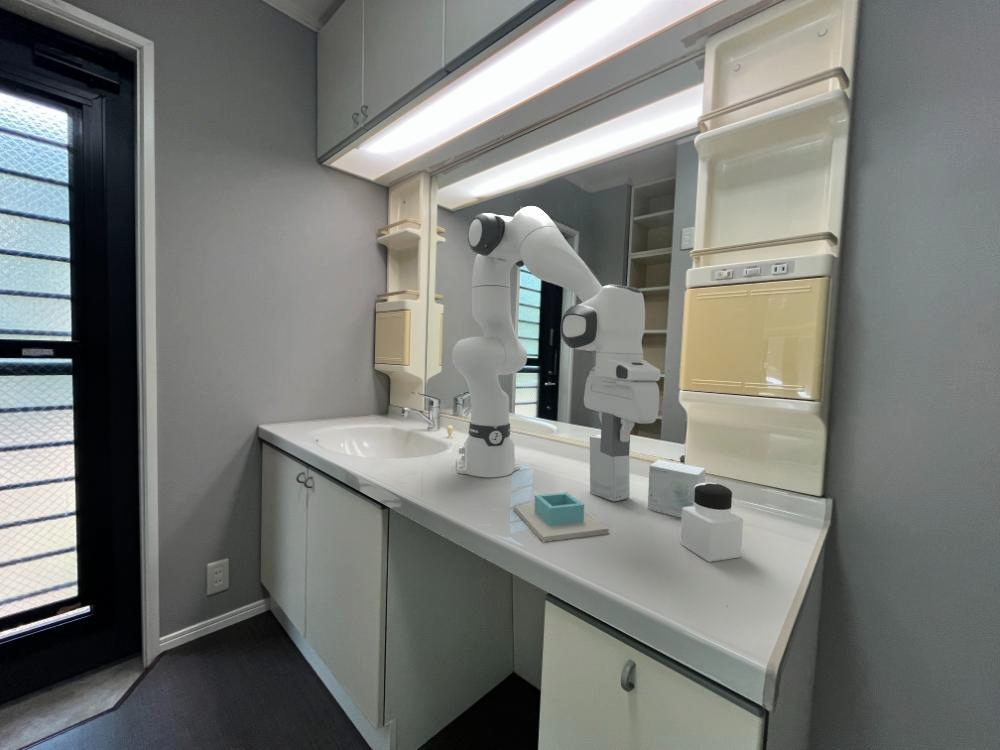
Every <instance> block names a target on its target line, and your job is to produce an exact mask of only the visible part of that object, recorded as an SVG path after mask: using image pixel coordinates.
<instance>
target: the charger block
mask: <svg viewBox="0 0 1000 750" xmlns="http://www.w3.org/2000/svg"><path fill="white" fill-rule="evenodd" d="M600 426H601V427H600V428H601V429H600V434H601V444H600V452H602V453H604V454H606V455H609V456H611V457H616V456H629V457H630V448H631V447H630V445H631V436H630V437H629V441H628V442H622V441H619V440H618V439H617V431H620V430H621V427H622V424H621V418H619V417H616V416H614V415H611V414H608V413H604V412H602V423H601V422H600Z"/></svg>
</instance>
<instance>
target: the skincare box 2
mask: <svg viewBox="0 0 1000 750" xmlns="http://www.w3.org/2000/svg"><path fill="white" fill-rule="evenodd" d="M705 481H706V468H705V467H700V466H694V465H689V464H683V463H679V462H673V461H668V460H663V459H657V460H656V461H653V463H651V464H649V473H648V495H647V498H648V499H647V509H648V510H650V511H653V512H657V513H661V514H665V515H669V516H672V517H677V518H680V519H682V508H683V507H690V506H694V487H695V486H696V485H697V484H700V483H706V482H705Z"/></svg>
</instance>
